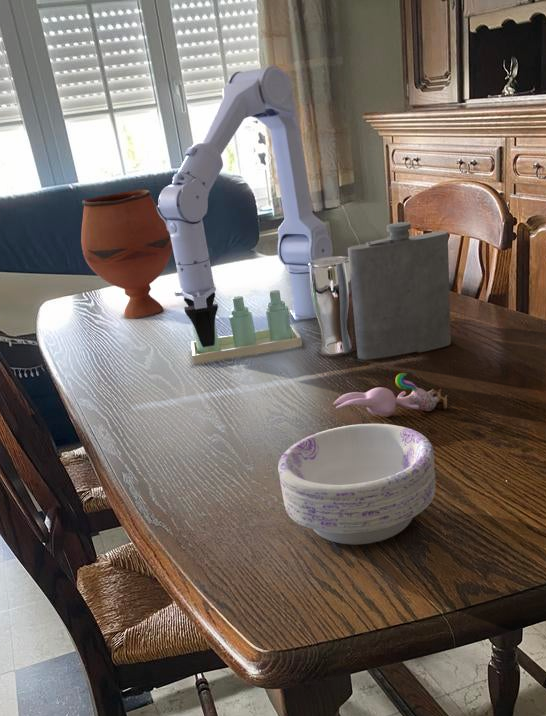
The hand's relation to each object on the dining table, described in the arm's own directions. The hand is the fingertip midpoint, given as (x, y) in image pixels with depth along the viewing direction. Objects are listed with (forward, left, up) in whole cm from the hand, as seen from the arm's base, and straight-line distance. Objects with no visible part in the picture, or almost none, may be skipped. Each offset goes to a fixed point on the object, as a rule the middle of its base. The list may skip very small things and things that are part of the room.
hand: (207, 340), depth 132 cm
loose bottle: (0, 0, -2) cm, 3 cm away
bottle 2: (-13, 0, -2) cm, 13 cm away
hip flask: (-31, +16, -3) cm, 35 cm away
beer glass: (-21, +10, -3) cm, 24 cm away
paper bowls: (-12, +67, -3) cm, 68 cm away
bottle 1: (-6, 0, -2) cm, 7 cm away
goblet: (+14, -42, -3) cm, 44 cm away
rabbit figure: (-22, +41, -3) cm, 47 cm away
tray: (-6, 0, -3) cm, 7 cm away
